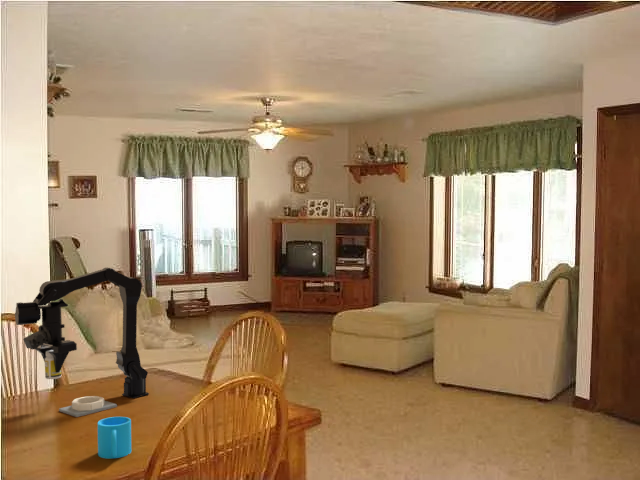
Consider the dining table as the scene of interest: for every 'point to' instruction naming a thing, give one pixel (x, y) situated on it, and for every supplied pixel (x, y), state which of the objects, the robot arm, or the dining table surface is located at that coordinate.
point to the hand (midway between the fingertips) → (53, 371)
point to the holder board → (80, 413)
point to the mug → (114, 437)
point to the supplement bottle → (50, 367)
